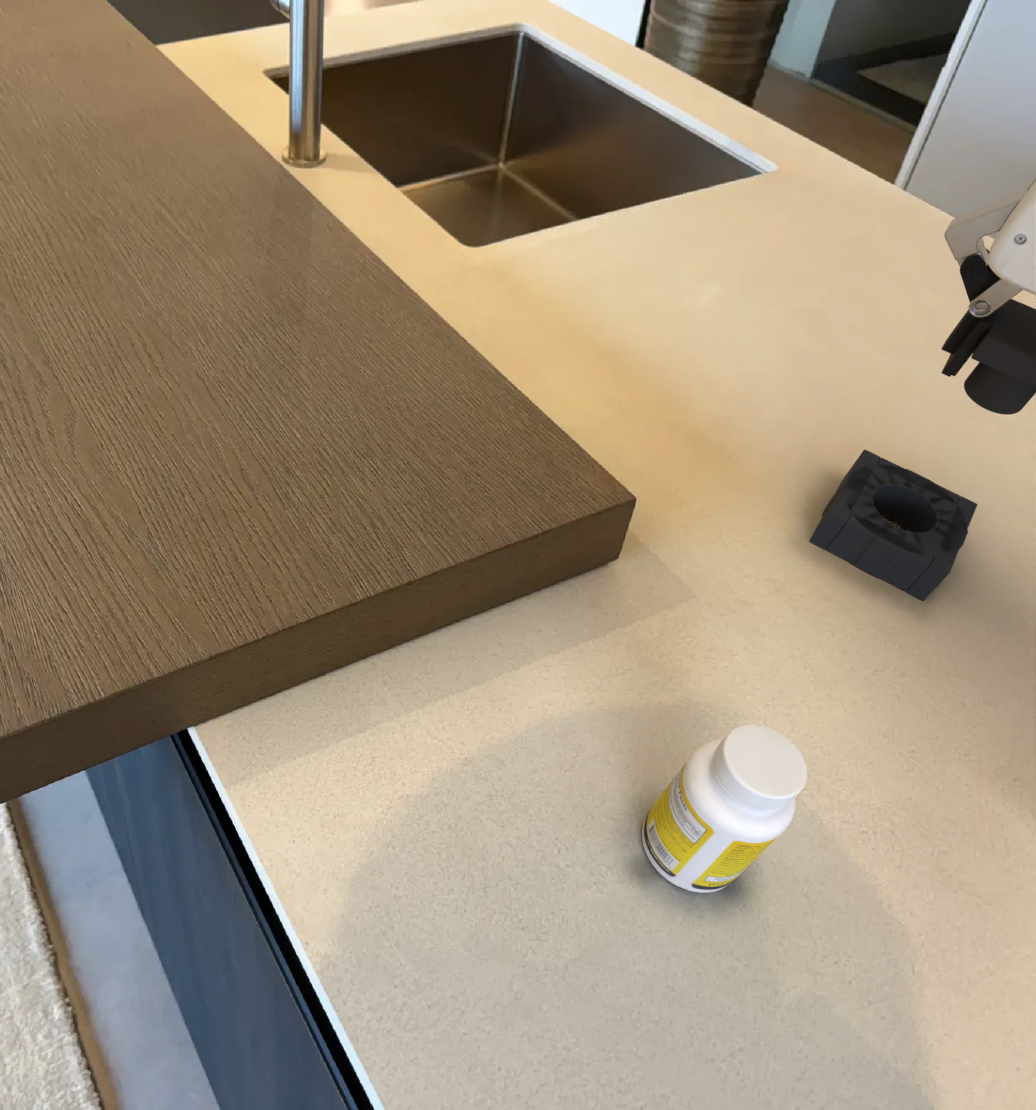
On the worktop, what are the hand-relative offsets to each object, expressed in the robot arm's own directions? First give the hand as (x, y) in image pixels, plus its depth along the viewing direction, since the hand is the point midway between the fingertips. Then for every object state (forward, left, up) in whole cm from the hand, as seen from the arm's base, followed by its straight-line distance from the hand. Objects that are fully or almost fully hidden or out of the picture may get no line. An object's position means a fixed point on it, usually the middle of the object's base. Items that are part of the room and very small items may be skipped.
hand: (1002, 383), depth 61 cm
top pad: (0, 0, -1) cm, 1 cm away
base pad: (0, -1, -15) cm, 15 cm away
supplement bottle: (+2, +30, -15) cm, 33 cm away
